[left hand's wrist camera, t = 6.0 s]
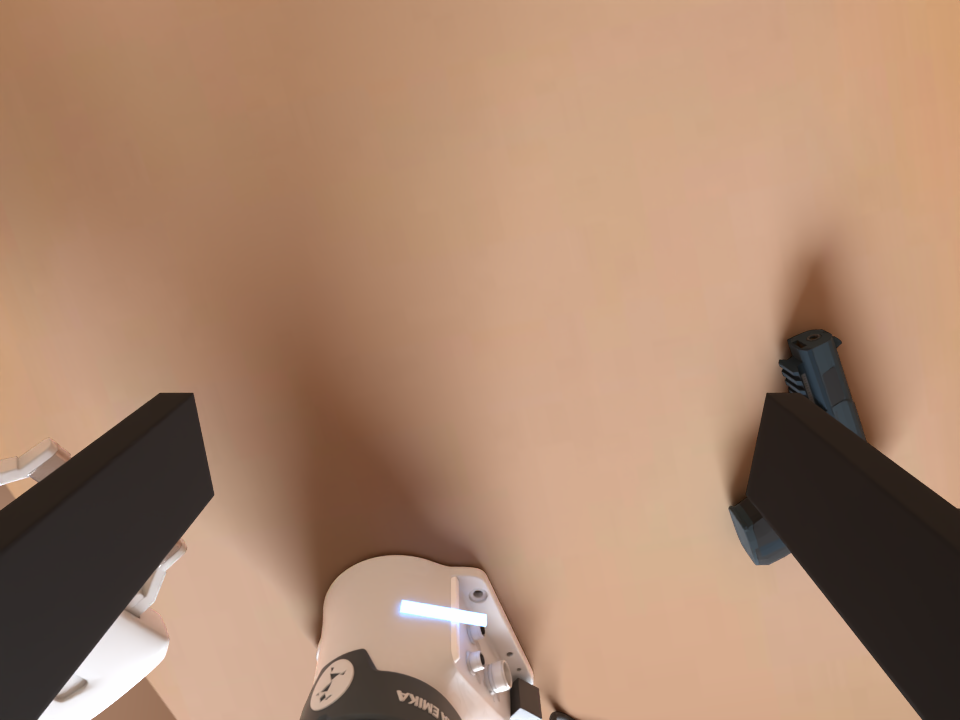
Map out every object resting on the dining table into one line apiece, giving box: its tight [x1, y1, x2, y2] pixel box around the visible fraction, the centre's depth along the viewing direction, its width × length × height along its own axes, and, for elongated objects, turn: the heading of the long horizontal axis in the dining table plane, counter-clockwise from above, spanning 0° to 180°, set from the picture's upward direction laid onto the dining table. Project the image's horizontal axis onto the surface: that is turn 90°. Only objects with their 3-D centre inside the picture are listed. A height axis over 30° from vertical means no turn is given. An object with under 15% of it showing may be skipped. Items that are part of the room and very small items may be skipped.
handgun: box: [729, 330, 867, 565], centre depth 43 cm, size 3×17×12 cm
